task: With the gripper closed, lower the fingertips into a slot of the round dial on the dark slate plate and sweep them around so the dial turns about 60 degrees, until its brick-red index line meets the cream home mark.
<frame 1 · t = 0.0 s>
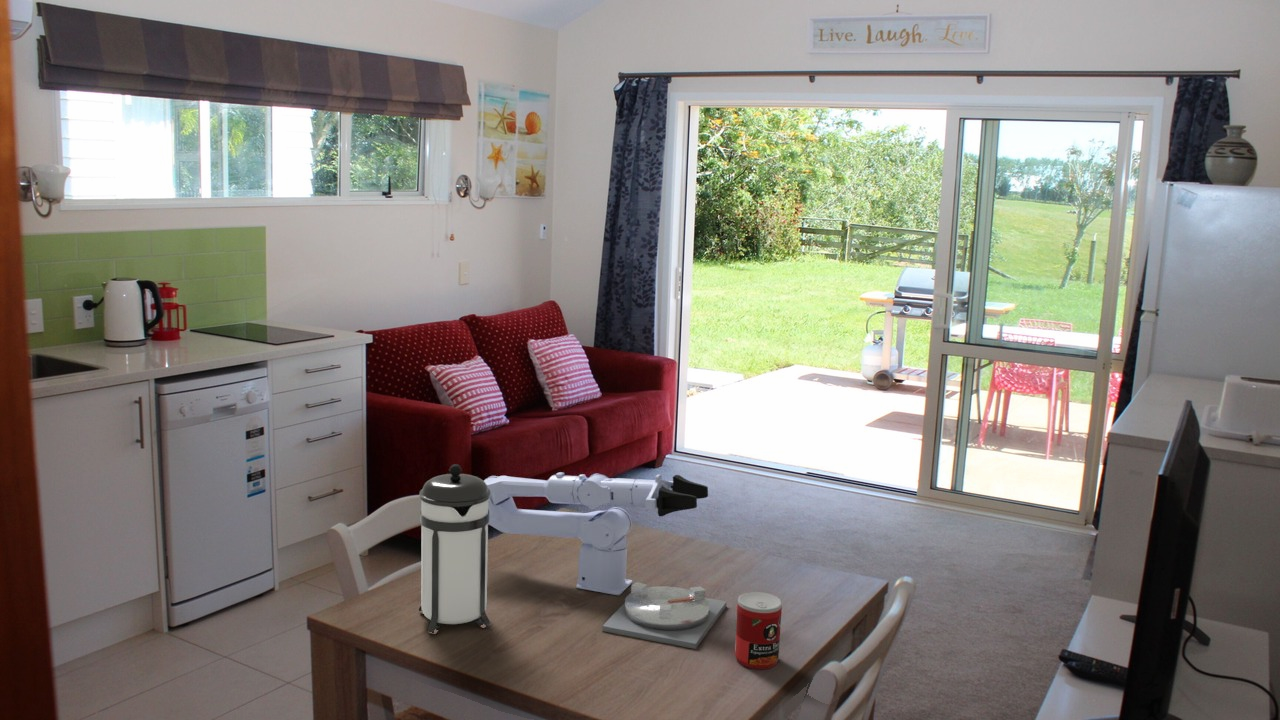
hand: (702, 497, 201), 22 cm above the table, tool horizontal, fingers open, 7 cm apart
canned food: (756, 660, 181), on the table
round dial: (667, 602, 196), point 3 cm above the table, hinge at 0.0°
slate base plate: (666, 618, 197), on the table
coffee press: (450, 618, 193), on the table
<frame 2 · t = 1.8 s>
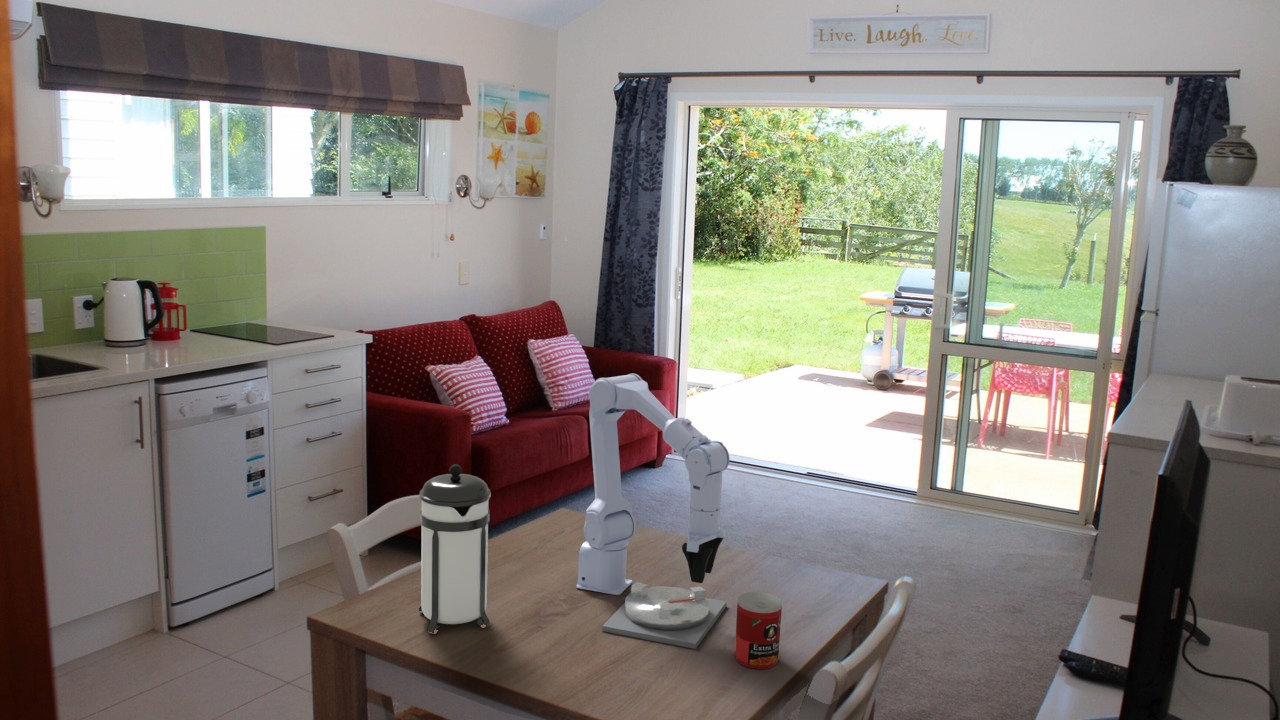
hand: (701, 576, 193), 9 cm above the table, tool pointing down, fingers open, 5 cm apart
nothing on the table moved.
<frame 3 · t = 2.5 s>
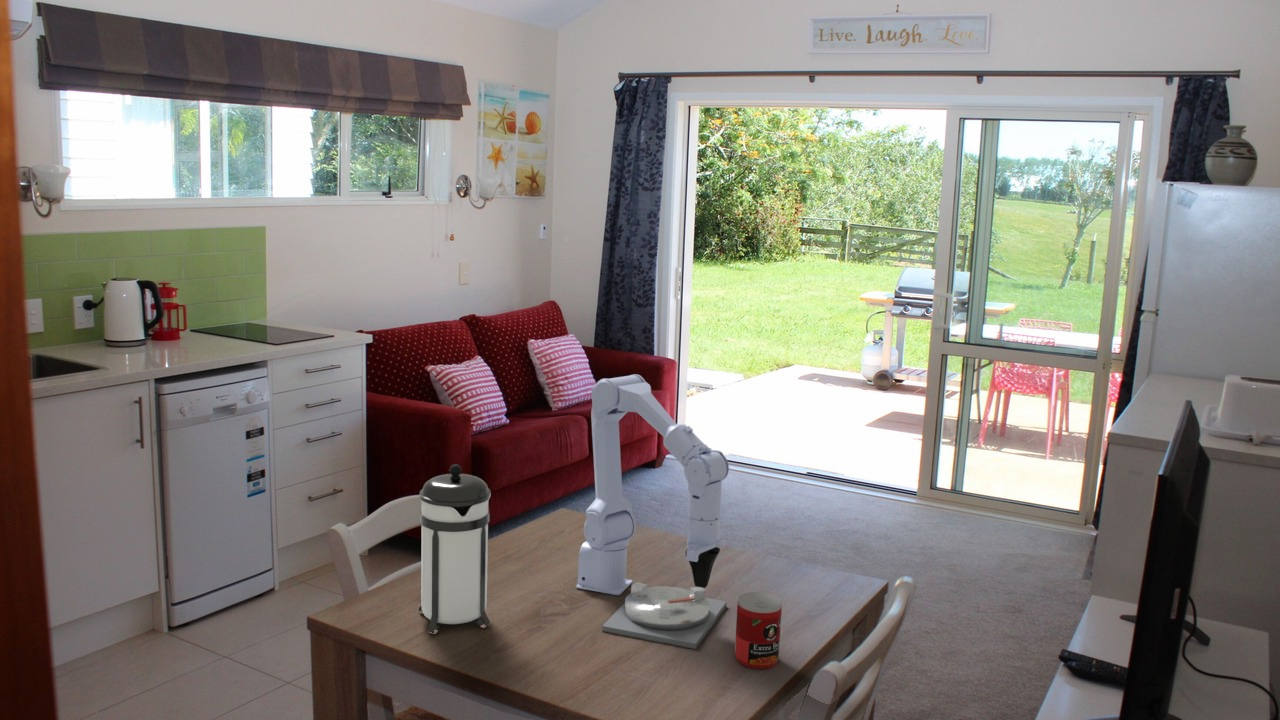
hand: (701, 586, 193), 8 cm above the table, tool pointing down, fingers closed
nothing on the table moved.
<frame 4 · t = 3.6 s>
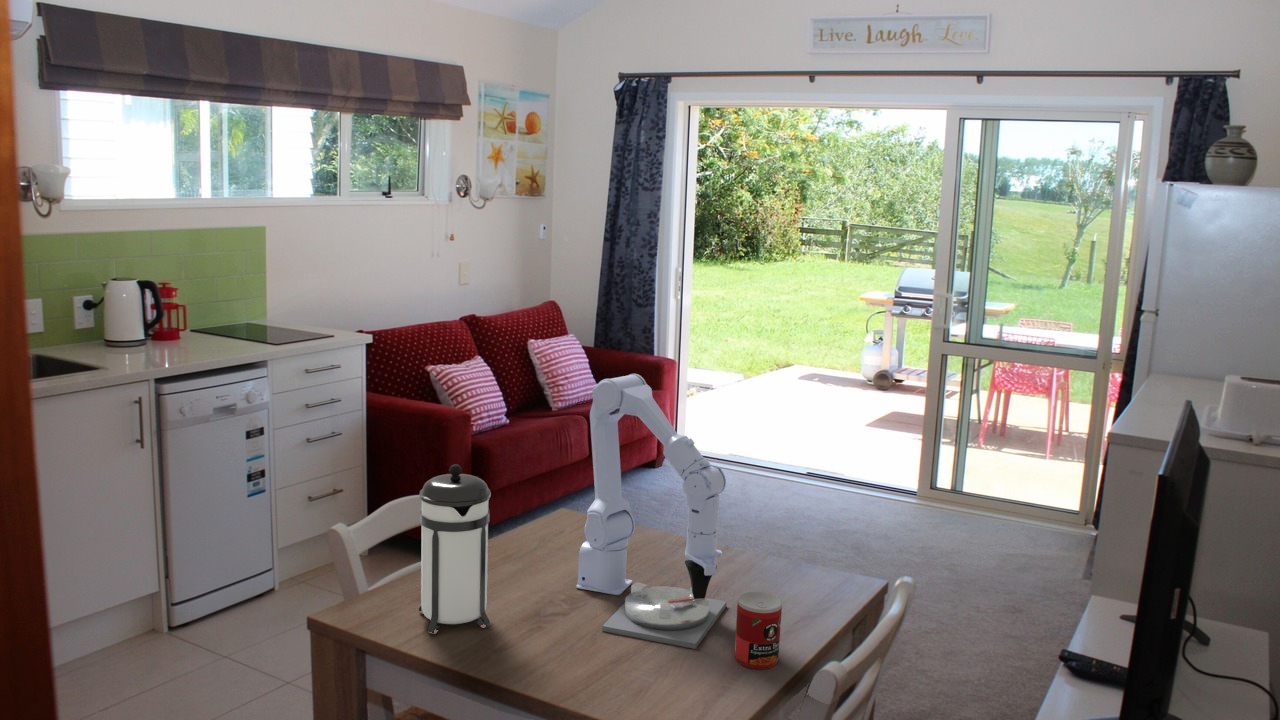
hand: (698, 597, 197), 4 cm above the table, tool pointing down, fingers closed, pressing on round dial
round dial: (667, 602, 196), point 3 cm above the table, hinge at 0.1°, touching gripper
everything else where it was.
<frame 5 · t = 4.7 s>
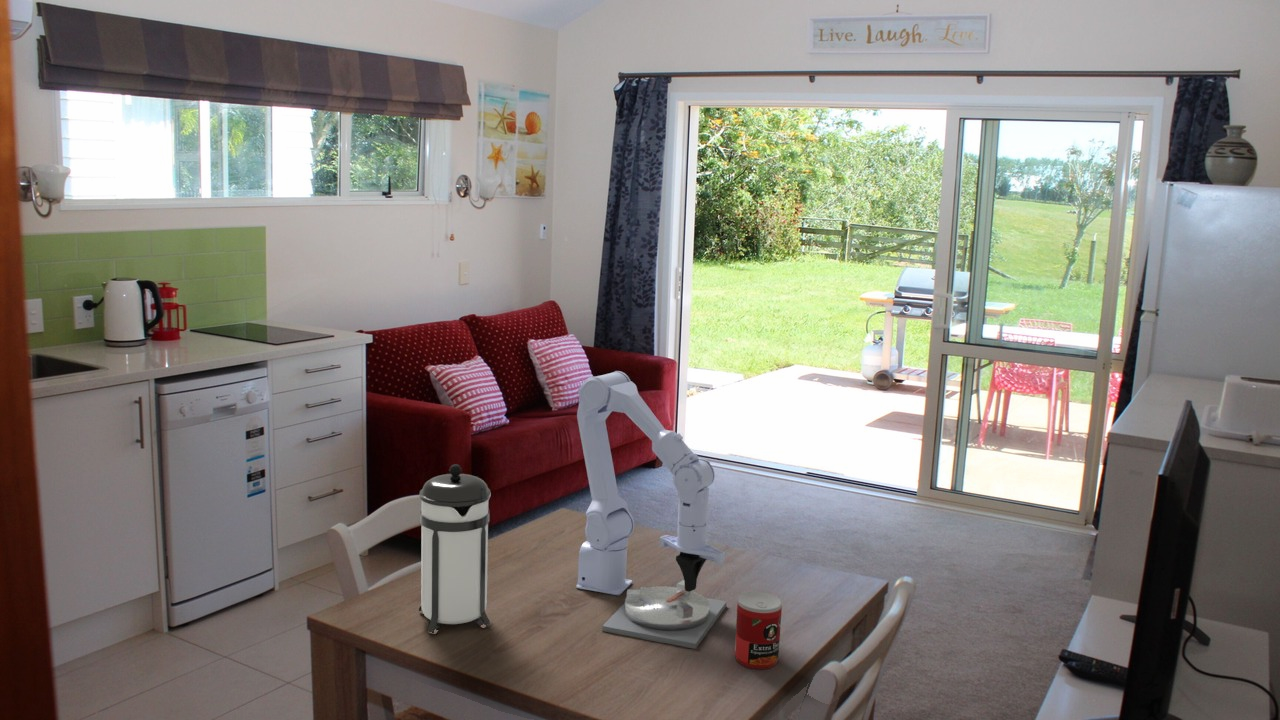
hand: (690, 589, 200), 4 cm above the table, tool pointing down, fingers closed, pressing on round dial
round dial: (667, 602, 196), point 3 cm above the table, hinge at 33.0°, touching gripper
everything else where it was.
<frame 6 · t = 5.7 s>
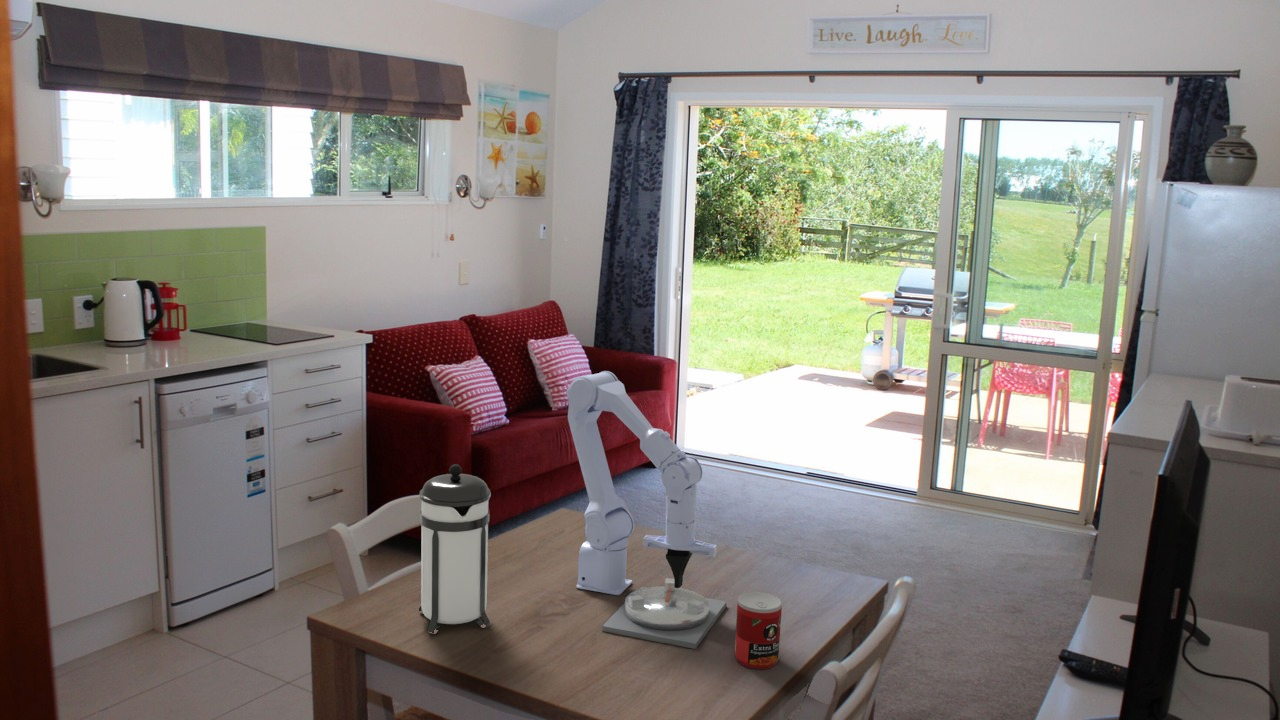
hand: (678, 586, 202), 4 cm above the table, tool pointing down, fingers closed, pressing on round dial
round dial: (667, 602, 196), point 3 cm above the table, hinge at 58.4°, touching gripper
everything else where it was.
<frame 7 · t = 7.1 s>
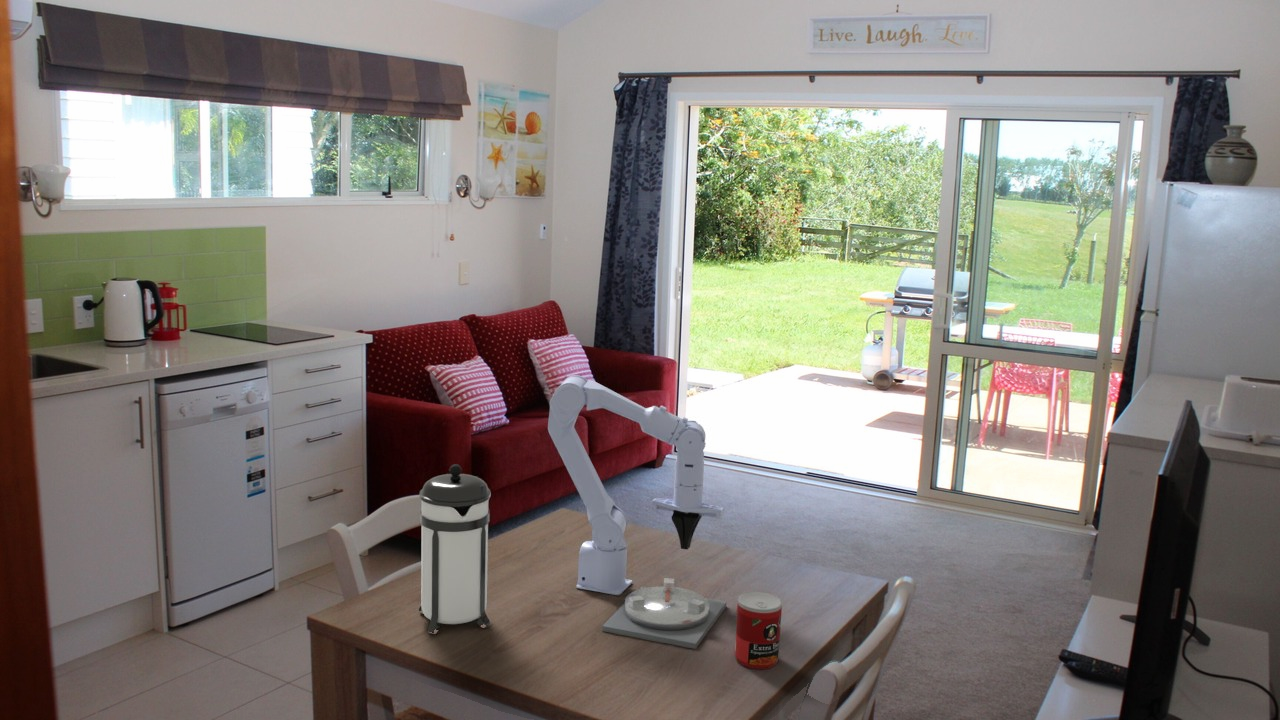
hand: (685, 547, 208), 9 cm above the table, tool pointing down, fingers closed
round dial: (667, 602, 196), point 3 cm above the table, hinge at 60.7°
everything else where it was.
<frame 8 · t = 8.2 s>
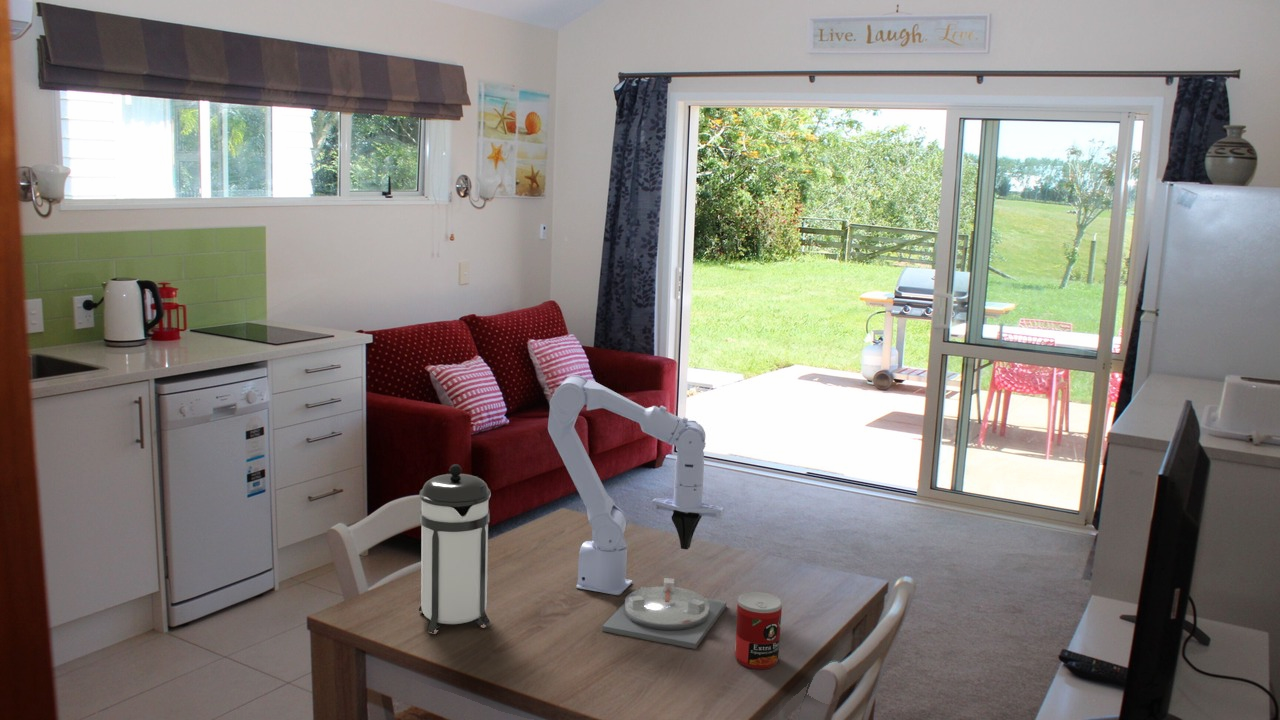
hand: (685, 547, 208), 9 cm above the table, tool pointing down, fingers closed
nothing on the table moved.
at the end: round dial at +61° (first picture: +0°); canned food moved 0.2 cm from its start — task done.
